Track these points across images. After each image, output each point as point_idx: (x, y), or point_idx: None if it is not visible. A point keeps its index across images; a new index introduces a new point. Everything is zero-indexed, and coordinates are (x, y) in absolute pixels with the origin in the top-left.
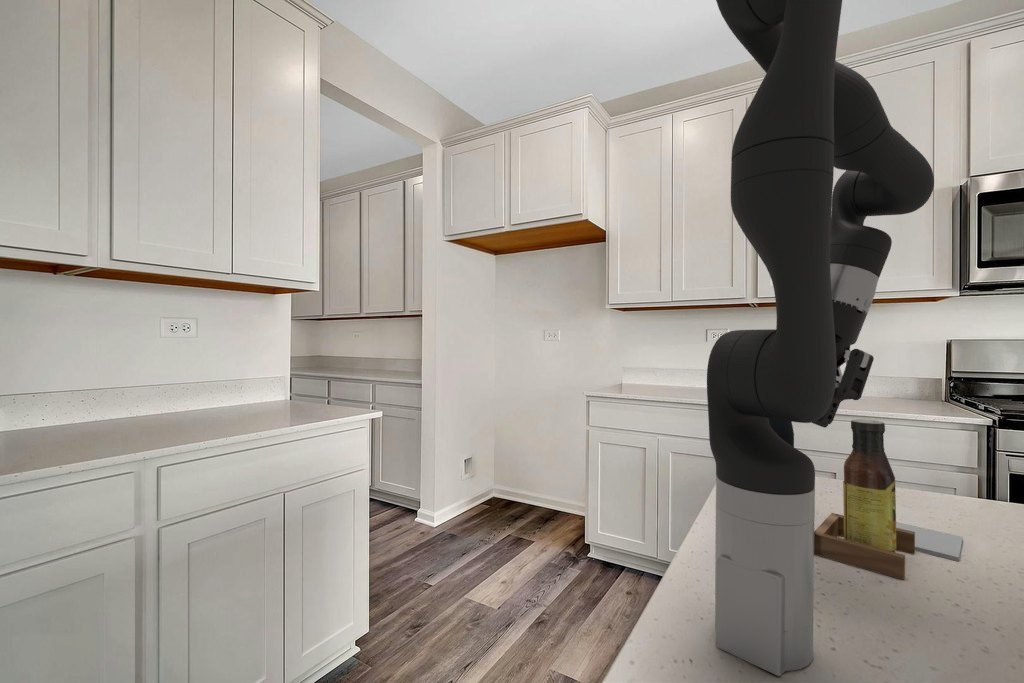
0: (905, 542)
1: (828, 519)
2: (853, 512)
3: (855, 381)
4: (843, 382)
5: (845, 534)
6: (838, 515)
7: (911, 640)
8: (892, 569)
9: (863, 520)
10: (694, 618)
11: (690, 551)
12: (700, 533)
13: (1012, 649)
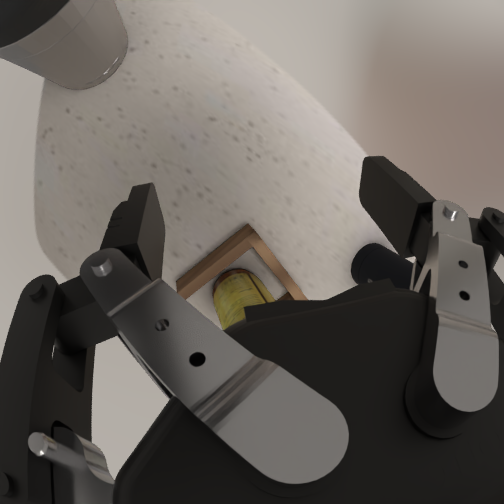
0: None
1: (292, 284)
2: (246, 293)
3: (76, 388)
4: (34, 320)
5: (252, 277)
6: None
7: (72, 196)
8: (184, 278)
9: (232, 295)
10: (134, 7)
11: (276, 69)
12: (324, 114)
13: (64, 275)
